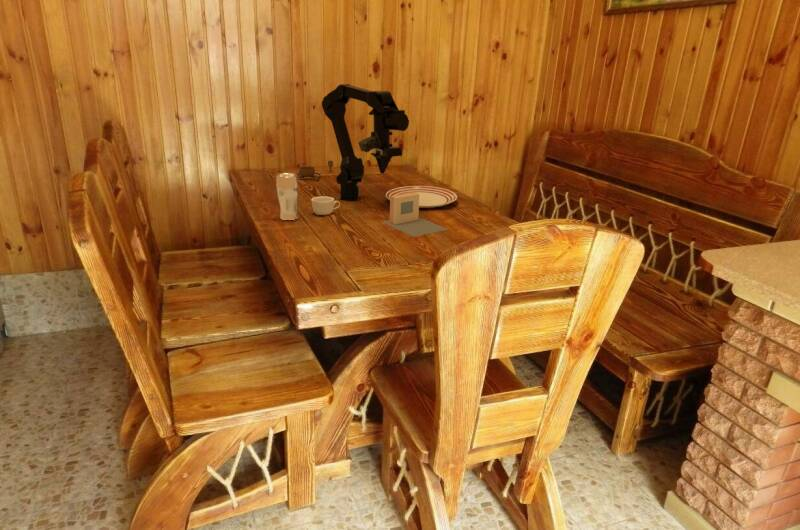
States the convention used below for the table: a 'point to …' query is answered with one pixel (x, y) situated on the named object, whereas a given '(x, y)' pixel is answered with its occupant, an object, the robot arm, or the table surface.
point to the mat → (417, 227)
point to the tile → (404, 208)
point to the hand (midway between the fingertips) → (382, 173)
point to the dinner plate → (426, 195)
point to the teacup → (323, 205)
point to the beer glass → (287, 195)
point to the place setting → (311, 171)
